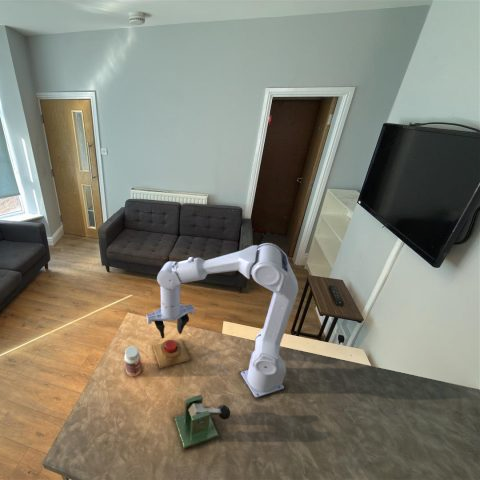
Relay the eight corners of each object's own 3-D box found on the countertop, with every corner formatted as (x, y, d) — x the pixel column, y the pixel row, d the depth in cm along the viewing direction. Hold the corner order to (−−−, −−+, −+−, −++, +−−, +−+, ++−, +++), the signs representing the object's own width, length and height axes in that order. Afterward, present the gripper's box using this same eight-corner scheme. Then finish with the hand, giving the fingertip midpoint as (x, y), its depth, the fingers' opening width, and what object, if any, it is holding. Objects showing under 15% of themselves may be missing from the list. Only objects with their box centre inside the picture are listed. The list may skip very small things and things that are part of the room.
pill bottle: (138, 377, 79) (137, 359, 76) (124, 375, 80) (121, 356, 76) (142, 364, 84) (141, 346, 80) (128, 361, 84) (126, 343, 81)
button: (174, 342, 87) (174, 339, 87) (178, 351, 84) (178, 347, 84) (164, 345, 87) (164, 341, 86) (167, 354, 84) (167, 350, 83)
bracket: (205, 409, 71) (207, 387, 67) (217, 436, 65) (221, 415, 61) (174, 419, 69) (174, 398, 64) (184, 449, 63) (184, 428, 58)
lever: (222, 410, 70) (228, 402, 69) (228, 422, 67) (234, 414, 66) (186, 408, 65) (193, 400, 64) (191, 422, 62) (198, 413, 61)
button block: (180, 340, 91) (181, 334, 90) (189, 360, 84) (189, 353, 83) (153, 348, 89) (153, 341, 88) (159, 368, 82) (159, 361, 81)
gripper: (188, 287, 81) (187, 319, 87) (143, 296, 78) (145, 329, 84) (197, 301, 75) (196, 335, 81) (149, 312, 72) (151, 347, 78)
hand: (170, 333), depth 82 cm, fingers open, 5 cm apart
